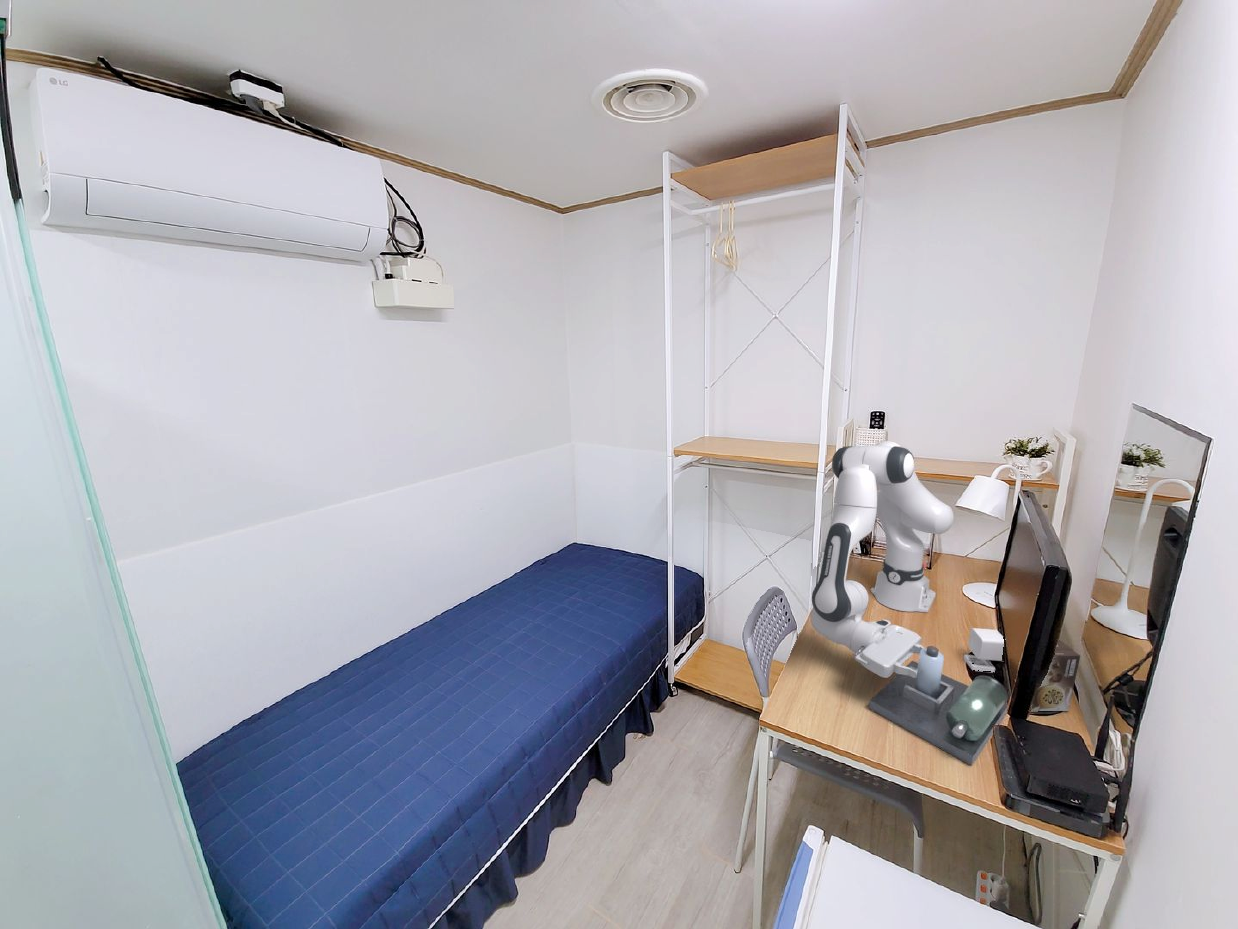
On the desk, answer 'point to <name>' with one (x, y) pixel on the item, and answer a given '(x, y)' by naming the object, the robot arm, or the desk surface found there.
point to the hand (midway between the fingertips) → (925, 666)
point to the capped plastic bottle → (929, 671)
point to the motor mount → (945, 712)
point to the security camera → (984, 649)
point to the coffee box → (1058, 681)
